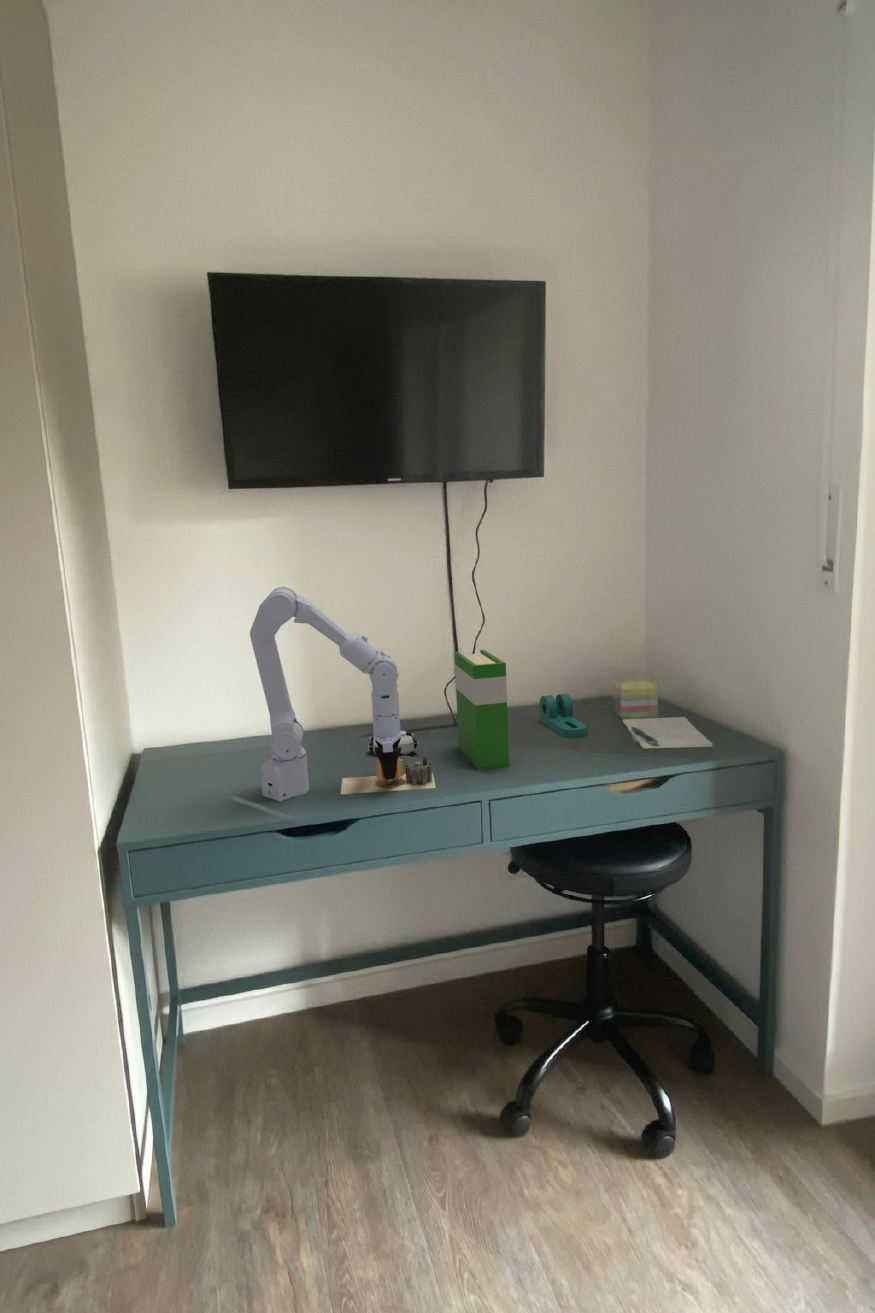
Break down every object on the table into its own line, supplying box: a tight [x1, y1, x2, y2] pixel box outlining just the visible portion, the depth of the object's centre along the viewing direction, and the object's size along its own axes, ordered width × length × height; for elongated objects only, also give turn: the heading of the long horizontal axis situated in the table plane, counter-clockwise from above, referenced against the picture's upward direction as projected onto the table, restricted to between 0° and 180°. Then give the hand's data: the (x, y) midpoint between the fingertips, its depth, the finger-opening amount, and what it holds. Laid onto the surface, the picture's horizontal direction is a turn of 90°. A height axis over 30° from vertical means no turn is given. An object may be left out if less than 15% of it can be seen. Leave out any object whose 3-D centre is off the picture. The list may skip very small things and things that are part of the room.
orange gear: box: [375, 756, 404, 781], centre depth 176 cm, size 6×6×4 cm
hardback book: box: [454, 649, 510, 771], centre depth 192 cm, size 18×7×24 cm, turn 13°
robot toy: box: [367, 731, 420, 756], centre depth 201 cm, size 12×4×15 cm
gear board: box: [340, 756, 437, 795], centre depth 176 cm, size 20×10×6 cm, turn 94°
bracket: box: [539, 692, 588, 739], centre depth 213 cm, size 18×7×8 cm, turn 14°
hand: (389, 774), depth 176 cm, fingers closed on orange gear, 5 cm apart
